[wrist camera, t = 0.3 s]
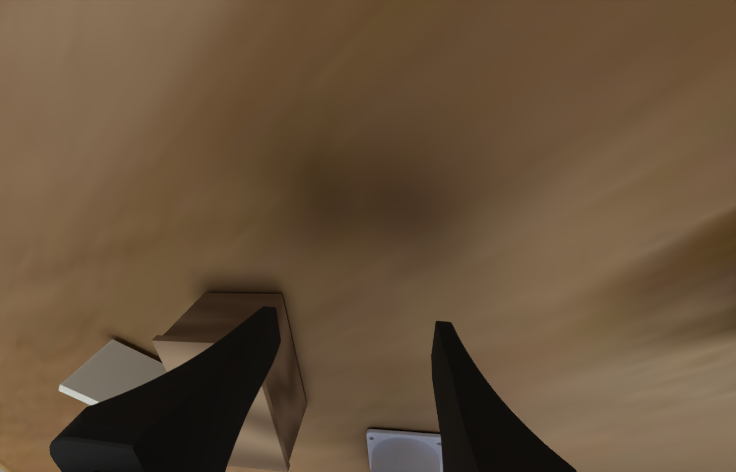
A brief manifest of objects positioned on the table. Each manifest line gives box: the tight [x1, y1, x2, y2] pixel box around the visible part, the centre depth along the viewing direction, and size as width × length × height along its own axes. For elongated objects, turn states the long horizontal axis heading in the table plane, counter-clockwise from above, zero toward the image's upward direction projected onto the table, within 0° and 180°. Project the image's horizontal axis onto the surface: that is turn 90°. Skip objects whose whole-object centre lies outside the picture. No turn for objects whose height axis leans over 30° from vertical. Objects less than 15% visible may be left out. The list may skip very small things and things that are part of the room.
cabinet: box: [152, 293, 307, 472], centre depth 27 cm, size 15×7×6 cm, turn 4°
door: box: [59, 339, 167, 405], centre depth 30 cm, size 14×2×5 cm, turn 59°
